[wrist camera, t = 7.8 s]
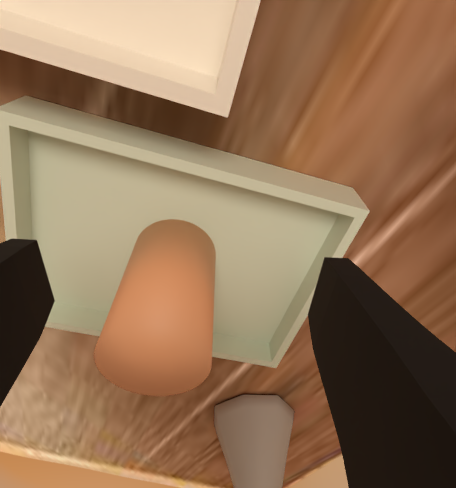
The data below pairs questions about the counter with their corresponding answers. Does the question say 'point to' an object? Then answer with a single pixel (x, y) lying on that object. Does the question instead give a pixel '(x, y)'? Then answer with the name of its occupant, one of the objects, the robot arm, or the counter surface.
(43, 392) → the counter surface
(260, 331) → the tray
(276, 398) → the flask
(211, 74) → the box
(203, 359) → the peg
